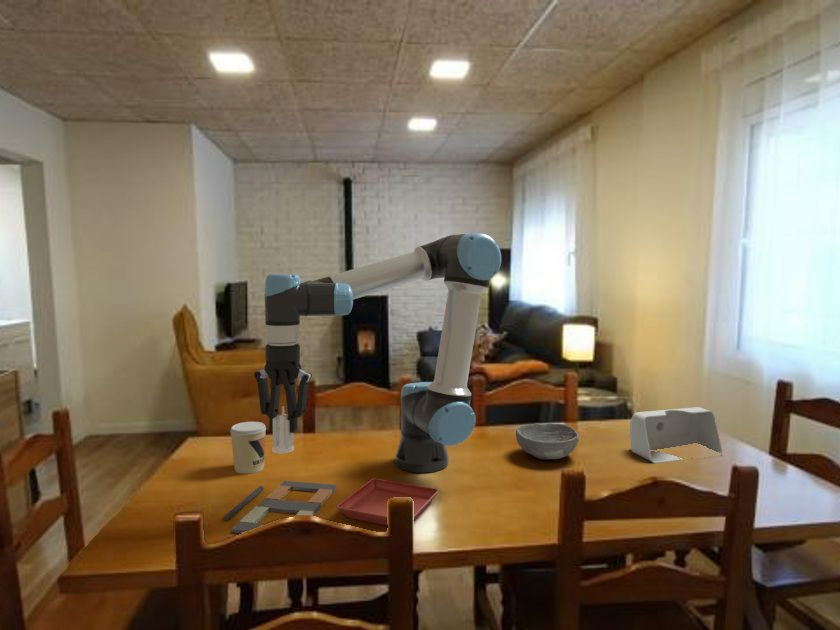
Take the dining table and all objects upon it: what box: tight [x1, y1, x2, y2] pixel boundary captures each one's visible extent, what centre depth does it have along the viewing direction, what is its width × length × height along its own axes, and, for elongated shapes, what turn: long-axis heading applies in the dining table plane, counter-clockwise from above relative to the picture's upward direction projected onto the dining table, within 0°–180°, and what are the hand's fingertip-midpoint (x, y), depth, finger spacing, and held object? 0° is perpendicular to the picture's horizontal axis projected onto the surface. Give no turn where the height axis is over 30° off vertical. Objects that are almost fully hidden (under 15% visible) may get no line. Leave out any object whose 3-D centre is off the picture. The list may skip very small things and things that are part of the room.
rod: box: [223, 485, 264, 521], centre depth 128 cm, size 17×1×1 cm, turn 169°
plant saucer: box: [336, 478, 440, 526], centre depth 126 cm, size 18×18×3 cm
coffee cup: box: [229, 421, 267, 475], centre depth 150 cm, size 9×9×12 cm
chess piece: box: [271, 405, 295, 454], centre depth 124 cm, size 5×5×10 cm
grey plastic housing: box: [628, 406, 723, 464], centre depth 165 cm, size 25×16×12 cm, turn 106°
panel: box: [231, 480, 337, 534], centre depth 126 cm, size 14×26×1 cm, turn 169°
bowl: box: [515, 422, 580, 461], centre depth 160 cm, size 18×18×8 cm
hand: (283, 445), depth 124 cm, fingers closed on chess piece, 2 cm apart
